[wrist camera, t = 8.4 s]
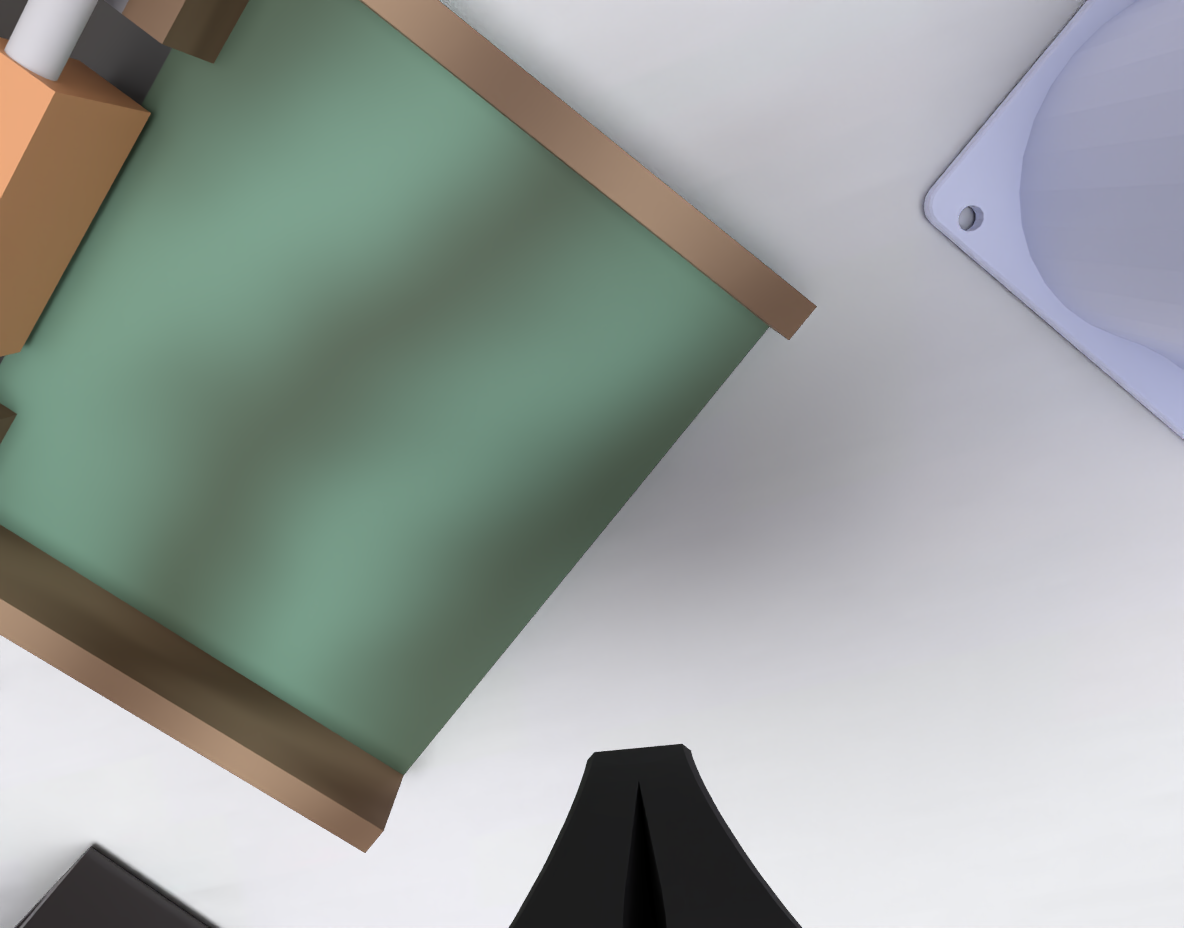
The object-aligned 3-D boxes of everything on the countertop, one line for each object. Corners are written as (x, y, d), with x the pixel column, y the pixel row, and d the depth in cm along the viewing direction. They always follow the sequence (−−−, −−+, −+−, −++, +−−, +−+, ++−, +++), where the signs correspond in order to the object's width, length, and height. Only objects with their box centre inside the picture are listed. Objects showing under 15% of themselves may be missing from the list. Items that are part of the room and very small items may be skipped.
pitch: (784, 292, 19) (816, 307, 16) (396, 771, 22) (365, 853, 20) (-138, -452, 15) (-313, -608, 12) (-411, 269, 19) (-594, 279, 16)
